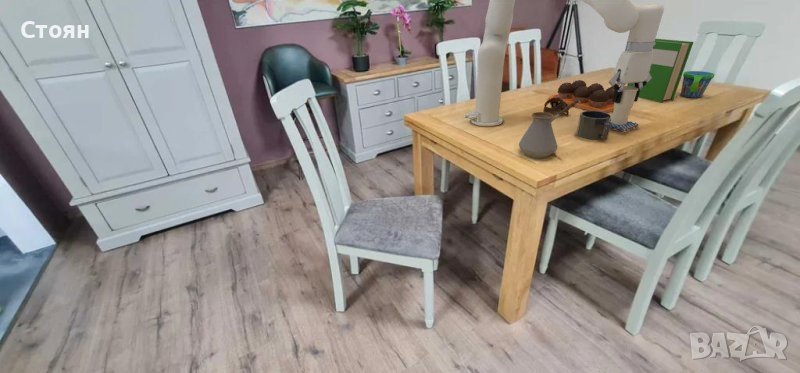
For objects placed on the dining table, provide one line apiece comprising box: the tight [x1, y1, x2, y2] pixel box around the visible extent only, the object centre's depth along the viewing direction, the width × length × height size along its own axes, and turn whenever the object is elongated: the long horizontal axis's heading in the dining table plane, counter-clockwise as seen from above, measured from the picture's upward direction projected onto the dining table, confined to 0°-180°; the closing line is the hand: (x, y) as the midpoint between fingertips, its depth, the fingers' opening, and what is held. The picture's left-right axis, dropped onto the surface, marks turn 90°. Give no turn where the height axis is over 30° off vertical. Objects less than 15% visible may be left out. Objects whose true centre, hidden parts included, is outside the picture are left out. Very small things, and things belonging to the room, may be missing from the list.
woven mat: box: [609, 117, 640, 134], centre depth 123 cm, size 10×11×2 cm
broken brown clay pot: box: [542, 97, 570, 116], centre depth 139 cm, size 12×9×8 cm
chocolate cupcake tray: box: [548, 79, 615, 113], centre depth 149 cm, size 28×17×8 cm, turn 25°
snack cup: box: [680, 70, 716, 99], centre depth 149 cm, size 16×10×10 cm
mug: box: [575, 110, 612, 141], centre depth 114 cm, size 12×9×8 cm
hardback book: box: [626, 38, 694, 103], centre depth 148 cm, size 18×7×24 cm, turn 20°
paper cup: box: [610, 85, 638, 125], centre depth 119 cm, size 6×6×12 cm
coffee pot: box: [518, 100, 581, 159], centre depth 106 cm, size 21×12×15 cm, turn 117°
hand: (624, 101), depth 118 cm, fingers closed on paper cup, 5 cm apart
